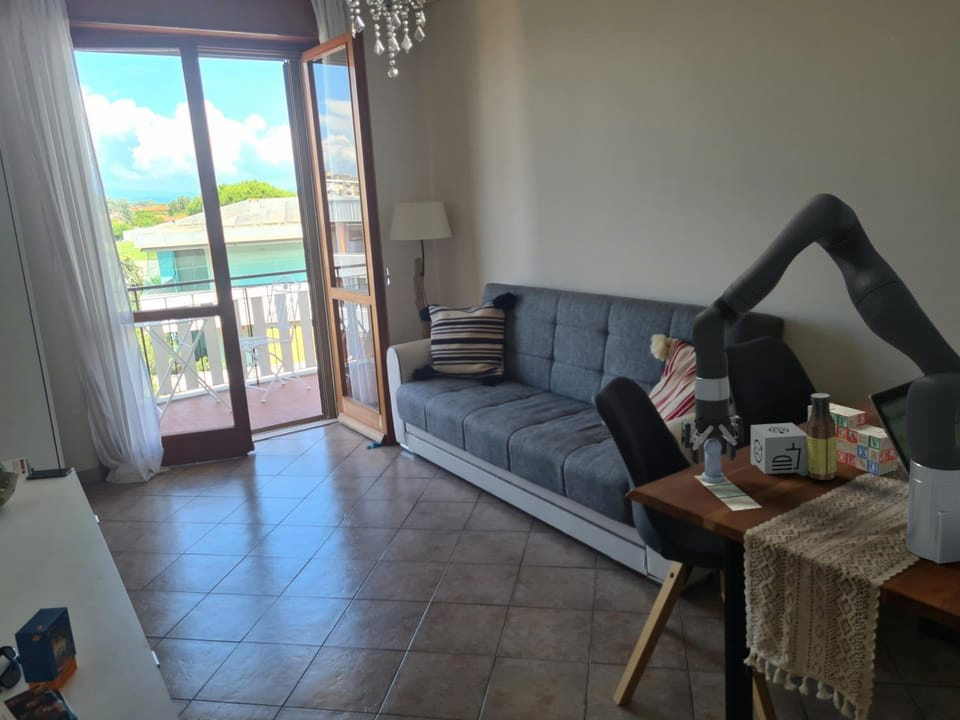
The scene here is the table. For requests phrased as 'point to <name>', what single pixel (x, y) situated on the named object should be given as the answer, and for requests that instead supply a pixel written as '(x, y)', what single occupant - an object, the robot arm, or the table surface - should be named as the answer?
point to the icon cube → (779, 448)
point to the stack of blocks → (861, 441)
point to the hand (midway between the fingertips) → (712, 461)
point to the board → (730, 495)
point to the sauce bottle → (821, 439)
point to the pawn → (712, 462)
